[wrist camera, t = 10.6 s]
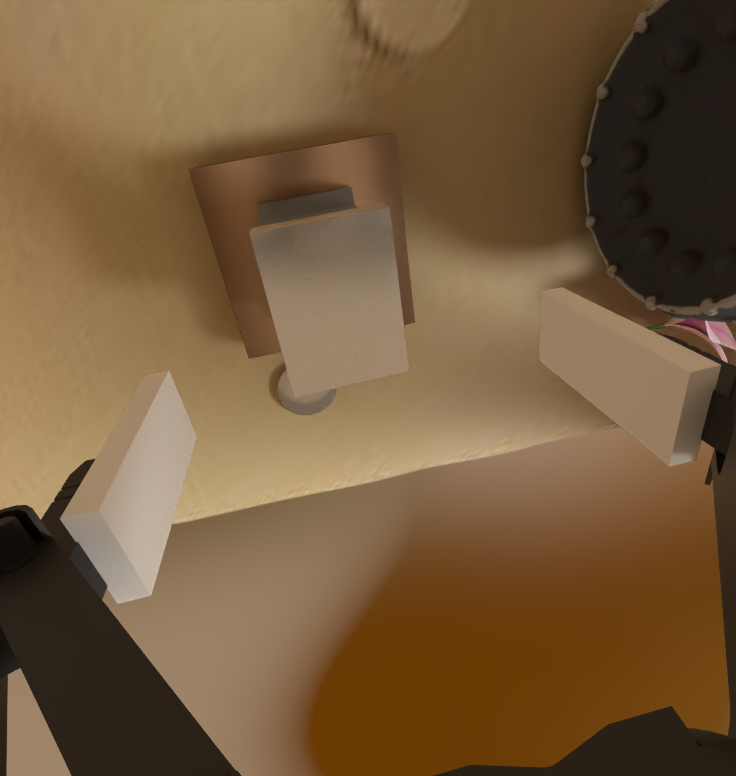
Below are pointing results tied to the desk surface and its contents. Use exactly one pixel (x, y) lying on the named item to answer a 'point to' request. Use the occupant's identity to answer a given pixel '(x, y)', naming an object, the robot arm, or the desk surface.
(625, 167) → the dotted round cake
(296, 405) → the domed puck
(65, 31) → the desk surface
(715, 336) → the lily
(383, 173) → the walnut stand
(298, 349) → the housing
